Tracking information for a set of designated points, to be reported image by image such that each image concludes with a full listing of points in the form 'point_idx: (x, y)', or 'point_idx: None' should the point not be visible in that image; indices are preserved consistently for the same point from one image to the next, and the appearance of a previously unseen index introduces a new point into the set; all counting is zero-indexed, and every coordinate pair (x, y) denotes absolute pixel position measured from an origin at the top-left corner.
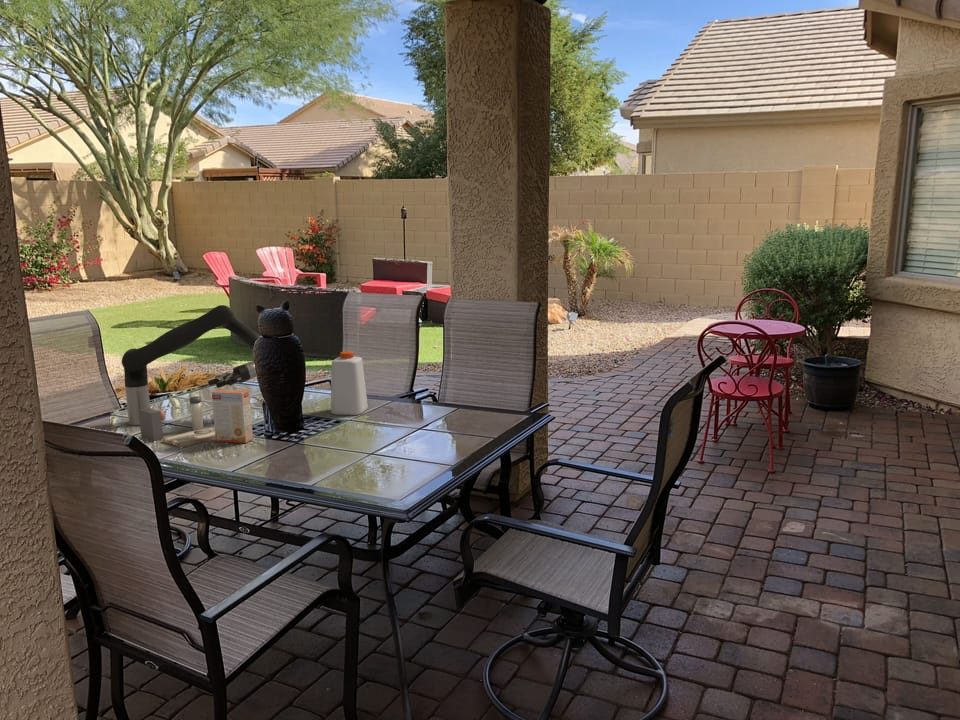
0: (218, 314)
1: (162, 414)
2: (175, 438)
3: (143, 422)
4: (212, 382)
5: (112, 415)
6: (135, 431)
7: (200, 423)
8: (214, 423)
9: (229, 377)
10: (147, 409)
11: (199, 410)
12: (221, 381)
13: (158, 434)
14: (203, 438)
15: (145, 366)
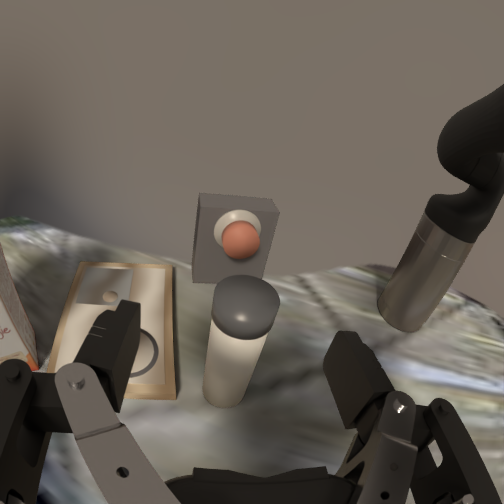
0: None
1: (224, 234)
2: (136, 276)
3: None
4: (342, 373)
5: (466, 300)
6: (326, 282)
7: (204, 378)
8: (14, 288)
9: (83, 454)
10: (257, 205)
11: (209, 344)
12: (109, 338)
13: (193, 259)
14: (63, 310)
15: (494, 195)
